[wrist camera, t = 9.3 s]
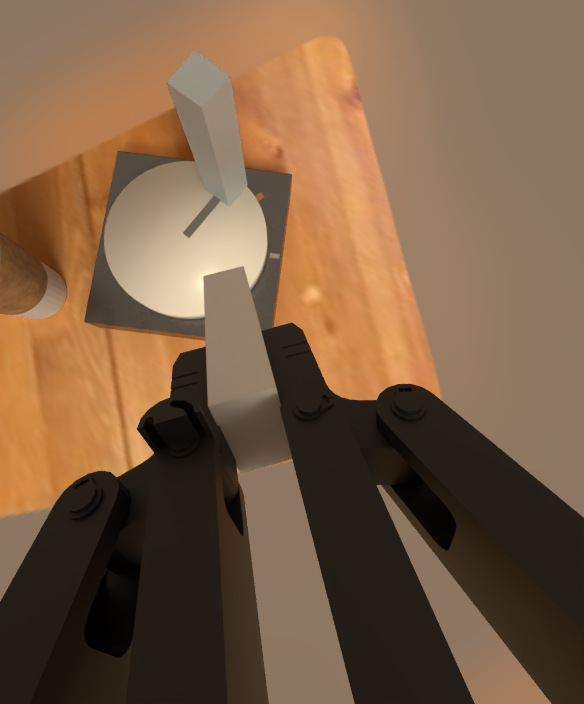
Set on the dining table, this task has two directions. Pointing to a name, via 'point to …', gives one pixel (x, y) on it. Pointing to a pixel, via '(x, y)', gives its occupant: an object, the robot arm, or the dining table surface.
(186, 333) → the dial housing
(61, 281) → the coffee cup
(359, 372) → the dining table surface
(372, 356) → the dining table surface
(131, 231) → the dial
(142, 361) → the dining table surface
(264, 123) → the dining table surface
